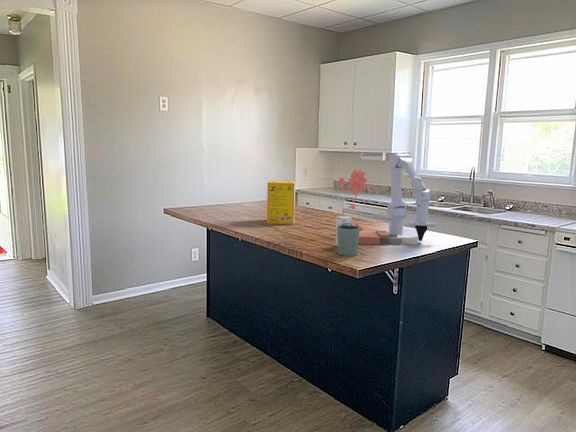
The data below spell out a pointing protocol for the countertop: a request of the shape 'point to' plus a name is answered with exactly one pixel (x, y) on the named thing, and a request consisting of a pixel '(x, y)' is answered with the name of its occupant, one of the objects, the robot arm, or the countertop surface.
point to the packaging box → (280, 202)
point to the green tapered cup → (348, 239)
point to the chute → (408, 239)
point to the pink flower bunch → (355, 186)
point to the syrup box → (342, 223)
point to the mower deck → (378, 238)
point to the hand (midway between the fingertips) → (420, 240)
